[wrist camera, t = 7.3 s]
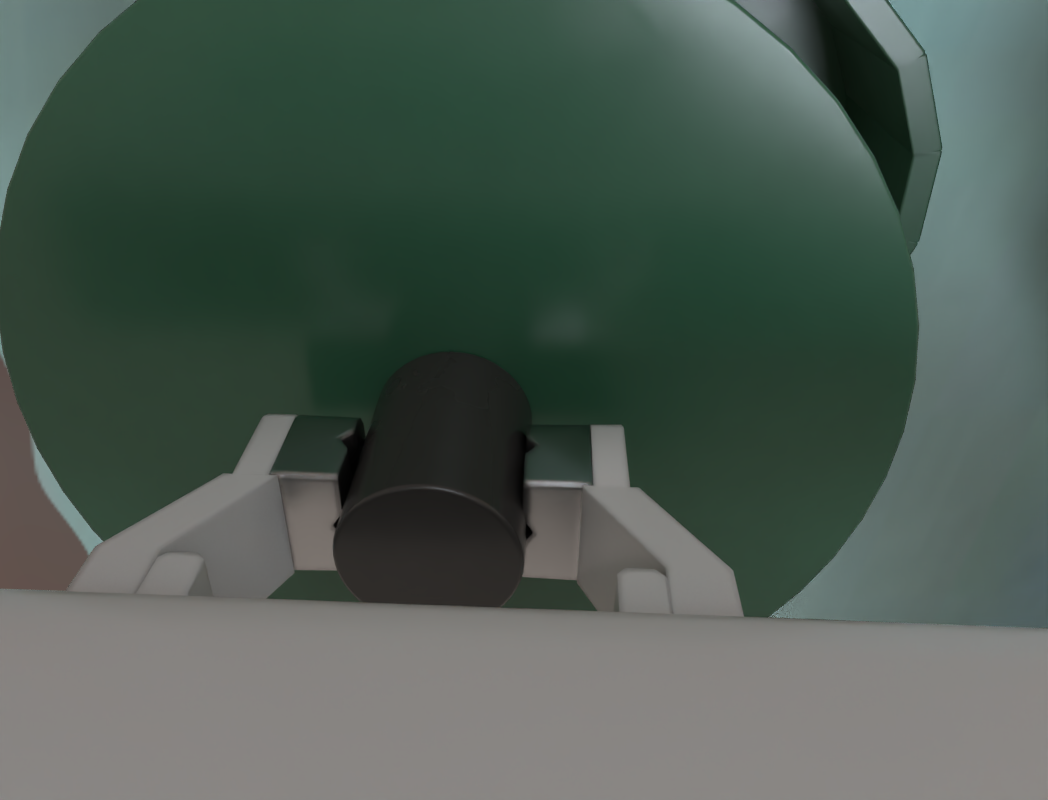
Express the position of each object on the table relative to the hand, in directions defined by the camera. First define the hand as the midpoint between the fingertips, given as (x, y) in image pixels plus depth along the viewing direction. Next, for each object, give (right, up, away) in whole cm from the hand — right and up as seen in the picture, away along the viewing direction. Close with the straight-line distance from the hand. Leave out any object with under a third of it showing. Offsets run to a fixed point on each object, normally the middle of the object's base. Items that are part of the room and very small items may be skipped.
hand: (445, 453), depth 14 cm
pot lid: (0, +1, +1) cm, 2 cm away
